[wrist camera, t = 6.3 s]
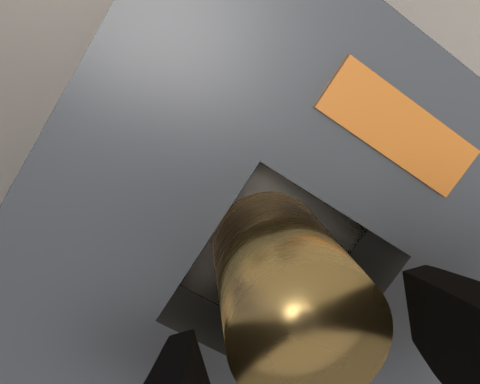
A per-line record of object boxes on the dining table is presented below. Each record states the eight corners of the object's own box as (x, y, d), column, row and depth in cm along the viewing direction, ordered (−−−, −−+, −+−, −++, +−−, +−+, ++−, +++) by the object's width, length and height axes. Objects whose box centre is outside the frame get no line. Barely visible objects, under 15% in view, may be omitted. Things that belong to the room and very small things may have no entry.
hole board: (-45, 326, 15) (-104, 389, 12) (194, -99, 13) (197, -154, 10) (316, 482, 19) (341, 560, 16) (555, 178, 16) (640, 202, 13)
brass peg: (191, 224, 15) (194, 314, 10) (292, 172, 15) (356, 231, 9) (241, 311, 16) (271, 438, 11) (335, 263, 16) (416, 365, 11)
